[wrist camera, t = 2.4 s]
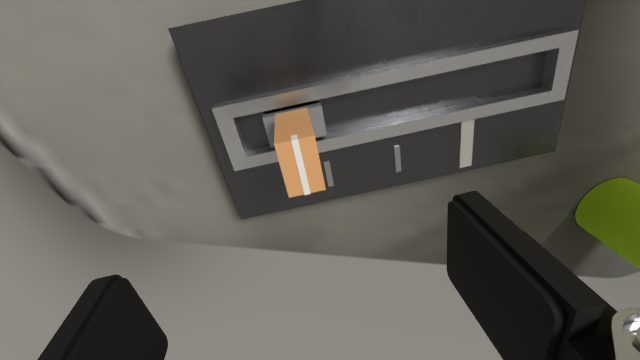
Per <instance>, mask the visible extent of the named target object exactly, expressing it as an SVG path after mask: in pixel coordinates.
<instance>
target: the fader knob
mask: <svg viewBox="0 0 640 360" xmlns="http://www.w3.org/2000/svg"><path fill="white" fill-rule="evenodd" d="M262 119H263V122H264V126H265V129H266V133H267V136H268V140H269V143H270V147H275V150H276V153H277V157H278V160H279V164H280V168H281V171H282V175H283V178H284V182H285V186H286V189H287V193H288V196H289V198H291V197H295V196H300V195H309V194H311V193H313V192H318V191H323V190H326V188H325V183H324V178H323V173H322V168H321V163H320V158H319V154H318V149H317V144H316V139H315V138H317V137H322V136H326V135H327V132H326V127H325V121H324V116H323V110H322V105H321V103H320V102H319V103H315V104H310V105H306V106H301V107H296V108H292V109H287V110H282V111H278V112H273V113H269V114H264V115H263V118H262Z"/></svg>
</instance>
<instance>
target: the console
mask: <svg viewBox="0 0 640 360" xmlns="http://www.w3.org/2000/svg"><path fill="white" fill-rule="evenodd" d="M585 4H586V0H301V1H296V2H292V3H287V4H282V5H277V6H273V7H268V8H263V9H259V10H254V11H249V12H245V13H240V14H235V15H230V16H226V17H221V18H216V19H212V20H207V21H202V22H197V23H193V24H188V25H183V26H179V27H174V28H169V32H170V34H171V37H172V40H173V42H174V45H175V47H176V50H177V53H178V55H179V58H180V60H181V63H182V66H183V68H184V71H185V73H186V76H187V79H188V81H189V84H190V86H191V89H192V92H193V94H194V97H195V99H196V102H197V105H198V107H199V110H200V112H201V115H202V118H203V120H204V123H205V125H206V128H207V131H208V133H209V136H210V138H211V141H212V144H213V146H214V149H215V151H216V154H217V157H218V159H219V162H220V164H221V167H222V170H223V172H224V175H225V177H226V180H227V183H228V185H229V188H230V190H231V193H232V196H233V198H234V201H235V203H236V206H237V209H238V211H239V214H240V216H241V219H245V218H250V217H255V216H259V215H264V214H268V213H273V212H277V211H282V210H287V209H291V208H296V207H300V206H305V205H309V204H314V203H318V202H323V201H328V200H332V199H337V198H341V197H346V196H350V195H355V194H360V193H364V192H369V191H373V190H378V189H382V188H387V187H391V186H396V185H401V184H405V183H410V182H414V181H419V180H423V179H428V178H433V177H437V176H442V175H446V174H451V173H455V172H460V171H464V170H469V169H474V168H478V167H483V166H487V165H492V164H496V163H501V162H506V161H510V160H515V159H519V158H524V157H528V156H533V155H537V154H542V153H547V152H551V151H555V148H556V143H557V138H558V133H559V129H560V124H561V119H562V114H563V109H564V105H565V100H566V95H567V90H568V85H569V81H570V76H571V71H572V66H573V61H574V57H575V52H576V47H577V42H578V38H579V33H580V28H581V23H582V18H583V14H584V9H585ZM319 102H320V103H321V105H322V110H323V116H324V121H325V127H326V132H327V135H326V136H322V137H317V138H315V139H316V144H317V149H318V154H319V158H320V163H321V168H322V173H323V178H324V183H325V188H326V190H323V191H318V192H313V193H311V194H309V195H300V196H295V197H291V198H289V196H288V193H287V189H286V186H285V182H284V178H283V175H282V171H281V168H280V164H279V160H278V157H277V153H276V150H275V147H270V143H269V140H268V136H267V133H266V129H265V126H264V122H263V119H262V118H263V115H264V114H269V113H273V112H278V111H282V110H287V109H292V108H296V107H301V106H306V105H310V104H315V103H319Z"/></svg>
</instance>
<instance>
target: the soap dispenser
mask: <svg viewBox="0 0 640 360" xmlns="http://www.w3.org/2000/svg"><path fill="white" fill-rule="evenodd" d="M575 219H576V222H577V224H578V225H579V226H580V227H582V228H583V229H584V230H586V231H587V232H589V233H590V234H591V235H593V236H594V237H595V238H597V239H598V240H600V241H601V242H602V243H604V244H605V245H606V246H608V247H609V248H611V249H612V250H613V251H615V252H616V253H617V254H619V255H620V256H622V257H623V258H624V259H626V260H627V261H628V262H630V263H631V264H633V265H634V266H635V267H637V268H638V269H639V270H640V184H638V183H636V182H634V181H632V180H630V179H627V178H614V179H610V180H607V181H605V182H603V183H601V184H599V185H597V186H596V187H594V188H593V189H592V190H590V191H589V192H588V193H587V194H586V195H585V196H584V197H583V199H582V200H581V201H580V203H579V205H578V207H577V209H576V213H575Z"/></svg>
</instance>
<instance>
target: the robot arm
mask: <svg viewBox="0 0 640 360" xmlns="http://www.w3.org/2000/svg"><path fill="white" fill-rule="evenodd" d="M447 272H448V276H449V278H450V280H451V282H452V283H453V285H454V286H455V288H456V289H457V291H458V292H459V294H460V295H461V297H462V298H463V300H464V301H465V303H466V304H467V306H468V307H469V309H470V310H471V312H472V313H473V315H474V316H475V318H476V319H477V321H478V322H479V324H480V325H481V327H482V328H483V330H484V331H485V333H486V334H487V336H488V337H489V339H490V340H491V342H492V343H493V345H494V346H495V348H496V349H497V351H498V352H499V354H500V355H501V357H502V358H503V360H640V307H628V308H625V309H622V310H619V311H618V312H617V311H616V310H615V309H614V308H613V307H611V306H610V305H609V304H608V303H607V302H606V301H604V300H603V299H602V298H601V297H600V296H599V295H598V294H596V293H595V292H594V291H593V290H592V289H591V288H589V287H588V286H587V285H586V284H585V283H584V282H582V281H581V280H580V279H579V278H578V277H577V276H576V275H574V274H573V273H572V272H571V271H570V270H569V269H567V268H566V267H565V266H564V265H563V264H562V263H560V262H559V261H558V260H557V259H556V258H555V257H554V256H552V255H551V254H550V253H549V252H548V251H547V250H545V249H544V248H543V247H542V246H541V245H540V244H538V243H537V242H536V241H535V240H534V239H533V238H531V237H530V236H529V235H528V234H527V233H525V232H524V231H522V230H521V229H520V228H519V227H518V226H516V225H515V224H514V223H513V222H512V221H511V220H509V219H508V218H507V217H506V216H505V215H504V214H503V213H501V212H500V211H499V210H498V209H497V208H496V207H494V206H493V205H492V204H491V203H490V202H489V201H488V200H486V199H485V198H484V197H483V196H482V195H481V194H479V193H478V192H476V191H471V192H467V193H463V194H458V195H455V196H454V197H453V201H451V202H449V203H448V226H447ZM167 347H168V342H167V337H166V335H165V334H164V332H163V331H162V329H161V328H160V327H159V325H158V323H157V322H156V321H155V319H154V318H153V316H152V315H151V313H150V312H149V310H148V309H147V307H146V306H145V304H144V303H143V301H142V300H141V298H140V297H139V296H138V294H137V292H136V291H135V289H134V288H133V287H132V285H131V283H130V282H129V281H128V280H127V279H126V278H122V277H121V276H119V275H111V276H107V277H103V278H98V279H95V280H93V281H92V282H91V283H90V284H89V285H88V287H87V288H86V290H85V291H84V292H83V294H82V295H81V297H80V298H79V300H78V301H77V303H76V304H75V306H74V307H73V309H72V310H71V311H70V313H69V315H68V316H67V317H66V319H65V320H64V322H63V323H62V325H61V326H60V328H59V329H58V330H57V332H56V333H55V335H54V336H53V338H52V339H51V341H50V342H49V344H48V345H47V347H46V348H45V350H44V351H43V352H42V354H41V355H40V357H39V358H38V360H164V358H165V355H166V351H167Z"/></svg>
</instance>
